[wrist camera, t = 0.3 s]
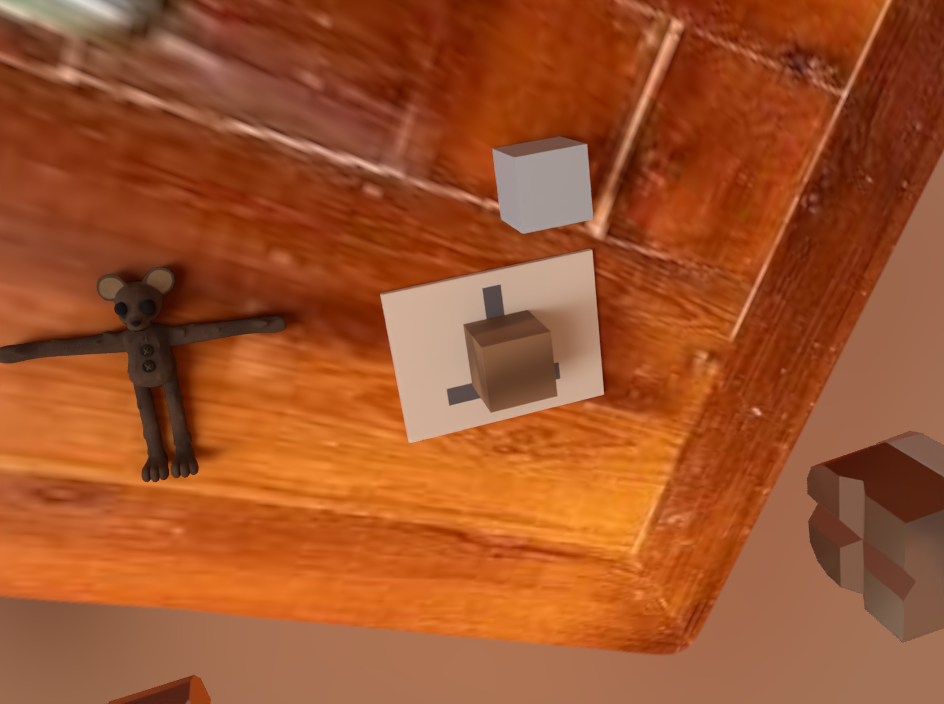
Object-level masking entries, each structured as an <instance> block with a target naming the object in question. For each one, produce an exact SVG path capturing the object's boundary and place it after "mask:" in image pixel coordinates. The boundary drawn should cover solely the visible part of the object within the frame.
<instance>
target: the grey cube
mask: <svg viewBox="0 0 944 704" xmlns="http://www.w3.org/2000/svg"><path fill="white" fill-rule="evenodd" d="M492 150H493V158H494V166H495V175H496V183H497V191H498V199H499V207H500V215H501V220H503V221H504V222H506V223H507V224H509V225H510V226H512V227H513V228H515V229H516V230H518V231H519V232H521V233H522V234H524V233H529V232H534V231H539V230H543V229H548V228H553V227H558V226H563V225H568V224H573V223H577V222H582V221H587V220H592V219H593V211H592V198H591V186H590V173H589V161H588V148H587V144H586V143H582V142H579V141H575V140H572V139H568V138H565V137H561V136H558V137H553V138H548V139H542V140H537V141H531V142H526V143H520V144H515V145H509V146H504V147H498V148H493V149H492Z"/></svg>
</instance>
